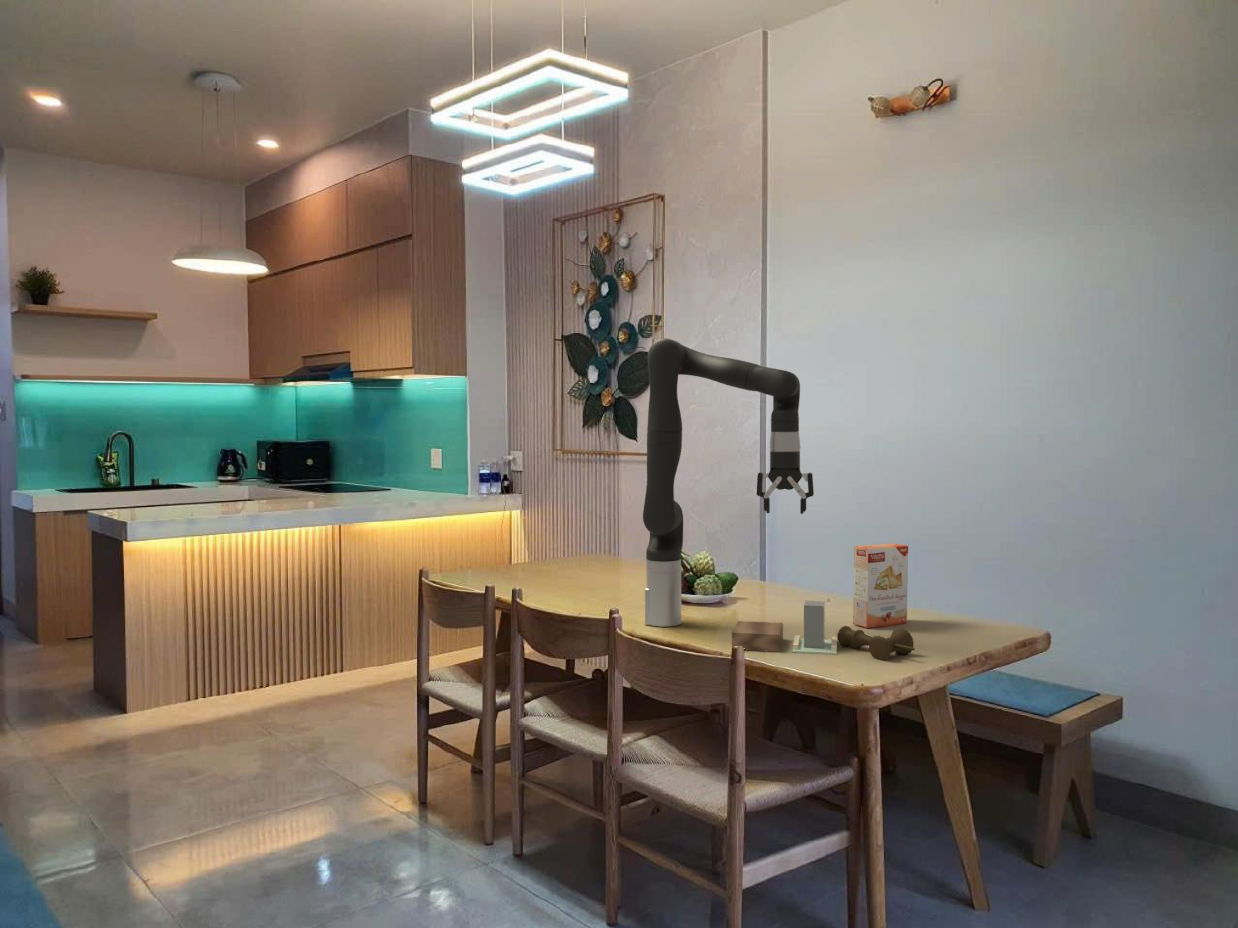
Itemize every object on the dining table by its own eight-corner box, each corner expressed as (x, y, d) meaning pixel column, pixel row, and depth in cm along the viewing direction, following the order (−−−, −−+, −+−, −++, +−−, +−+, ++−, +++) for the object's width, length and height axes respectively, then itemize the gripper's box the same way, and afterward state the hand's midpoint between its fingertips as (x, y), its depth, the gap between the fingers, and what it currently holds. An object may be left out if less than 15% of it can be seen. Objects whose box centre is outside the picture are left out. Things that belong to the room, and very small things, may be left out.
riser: (732, 649, 219) (731, 632, 219) (738, 637, 232) (738, 621, 232) (779, 651, 217) (779, 634, 217) (782, 639, 229) (782, 622, 229)
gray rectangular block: (803, 647, 219) (803, 605, 219) (805, 641, 225) (805, 600, 224) (823, 648, 218) (823, 606, 217) (824, 642, 224) (824, 601, 223)
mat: (792, 652, 216) (792, 646, 216) (795, 639, 229) (795, 633, 229) (836, 654, 214) (836, 648, 214) (837, 641, 226) (837, 635, 226)
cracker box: (868, 629, 239) (868, 548, 238) (852, 624, 245) (852, 545, 244) (908, 623, 246) (909, 544, 245) (892, 619, 251) (892, 542, 250)
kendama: (856, 644, 225) (928, 658, 210) (830, 652, 220) (902, 666, 204) (855, 620, 225) (927, 632, 209) (828, 626, 219) (901, 639, 203)
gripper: (755, 450, 235) (755, 514, 236) (813, 450, 232) (813, 515, 233) (758, 449, 242) (758, 511, 243) (814, 449, 239) (814, 512, 240)
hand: (785, 513), depth 238 cm, fingers open, 8 cm apart
